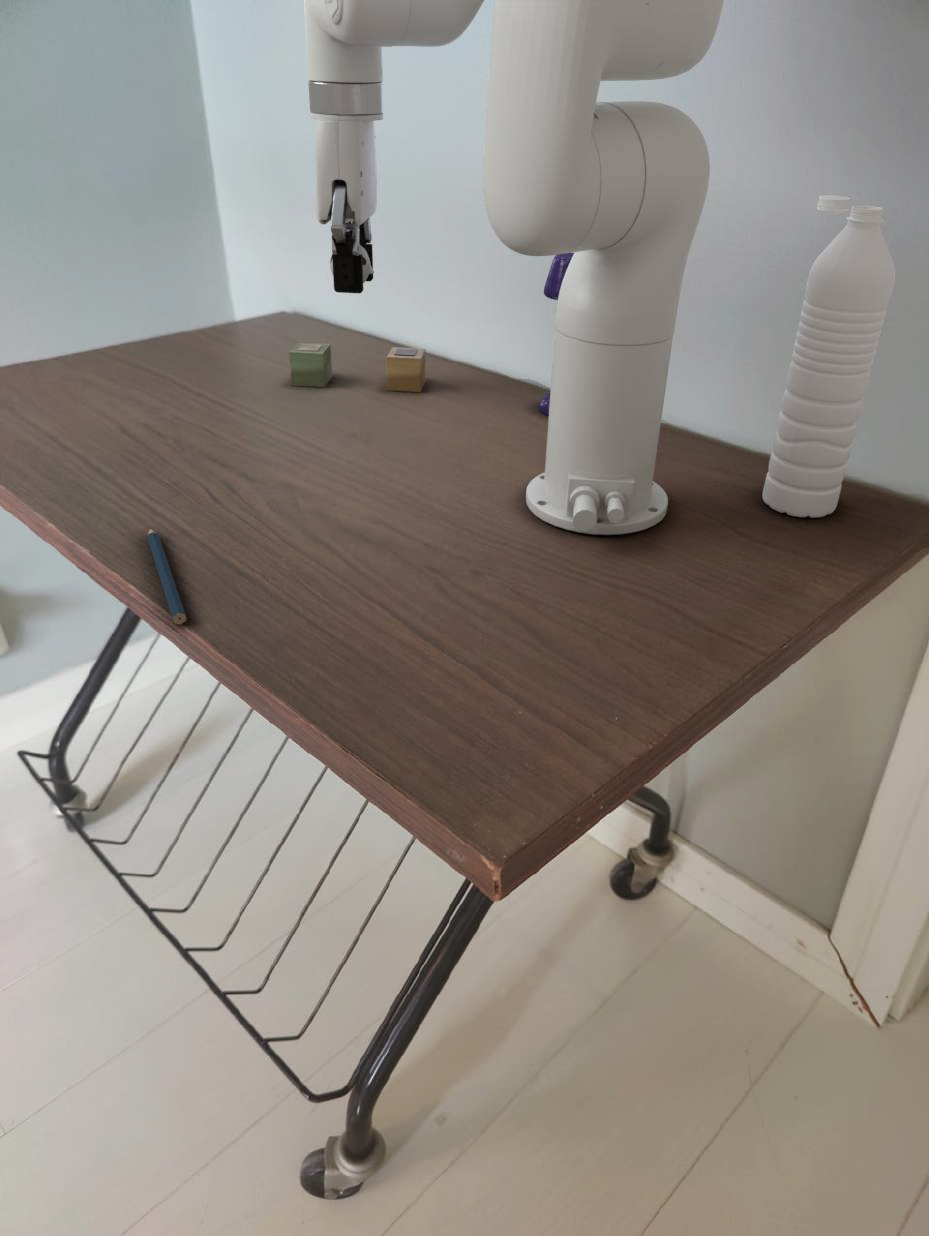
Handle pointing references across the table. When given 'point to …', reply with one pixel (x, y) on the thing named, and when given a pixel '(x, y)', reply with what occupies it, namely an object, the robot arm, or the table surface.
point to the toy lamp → (552, 292)
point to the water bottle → (830, 364)
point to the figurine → (365, 261)
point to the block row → (316, 367)
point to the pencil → (166, 578)
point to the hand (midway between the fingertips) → (354, 284)
